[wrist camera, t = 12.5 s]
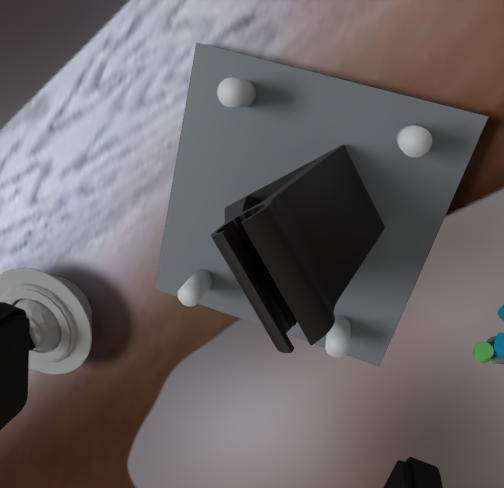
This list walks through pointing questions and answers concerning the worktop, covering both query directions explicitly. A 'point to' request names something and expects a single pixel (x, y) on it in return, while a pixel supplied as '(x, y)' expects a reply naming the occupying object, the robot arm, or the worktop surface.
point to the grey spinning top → (50, 318)
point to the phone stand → (300, 244)
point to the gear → (491, 347)
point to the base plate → (295, 156)
